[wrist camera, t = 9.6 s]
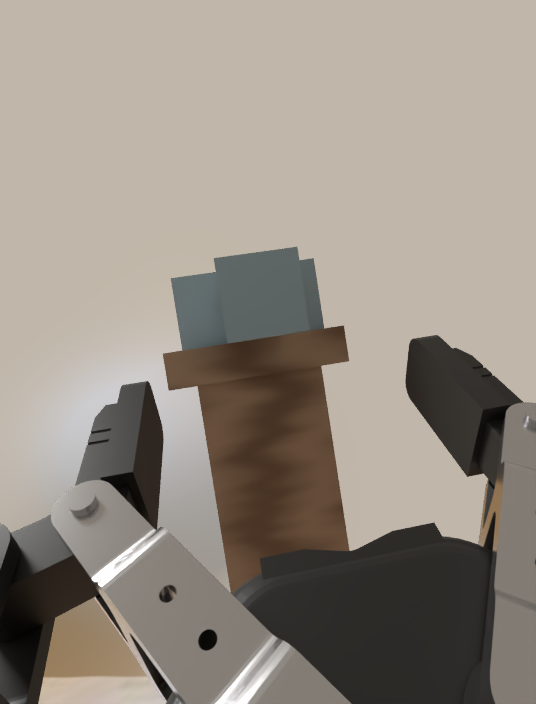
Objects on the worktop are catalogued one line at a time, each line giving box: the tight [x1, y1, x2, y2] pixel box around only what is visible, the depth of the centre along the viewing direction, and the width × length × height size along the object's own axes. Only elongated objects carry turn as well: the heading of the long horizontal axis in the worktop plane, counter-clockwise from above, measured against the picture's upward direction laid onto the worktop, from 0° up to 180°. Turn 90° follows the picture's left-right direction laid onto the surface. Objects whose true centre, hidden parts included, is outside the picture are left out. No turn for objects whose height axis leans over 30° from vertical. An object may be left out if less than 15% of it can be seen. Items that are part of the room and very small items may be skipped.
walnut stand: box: [163, 326, 349, 594], centre depth 27 cm, size 10×8×30 cm
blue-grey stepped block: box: [171, 247, 324, 351], centre depth 23 cm, size 8×16×4 cm, turn 6°
